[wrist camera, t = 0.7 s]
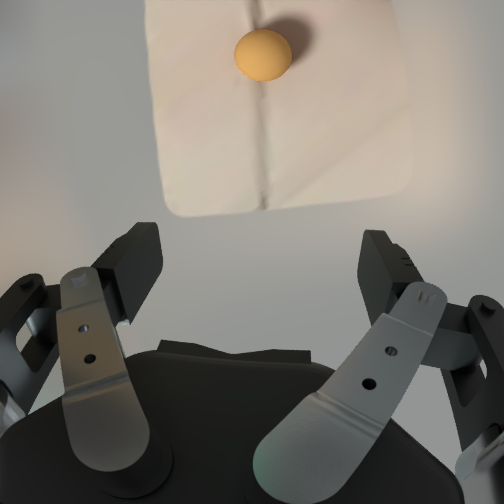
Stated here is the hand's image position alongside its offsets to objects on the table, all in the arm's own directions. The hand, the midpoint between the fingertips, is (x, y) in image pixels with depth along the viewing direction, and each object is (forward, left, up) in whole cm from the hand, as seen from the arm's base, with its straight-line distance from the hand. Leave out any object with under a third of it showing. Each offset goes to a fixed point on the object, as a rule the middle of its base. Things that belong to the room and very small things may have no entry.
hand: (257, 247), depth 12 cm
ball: (-9, -1, -19) cm, 21 cm away
